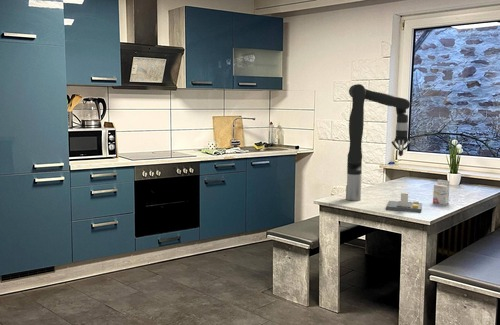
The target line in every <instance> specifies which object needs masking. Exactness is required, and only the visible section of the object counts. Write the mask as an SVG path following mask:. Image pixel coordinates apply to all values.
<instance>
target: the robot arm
mask: <svg viewBox="0 0 500 325" xmlns="http://www.w3.org/2000/svg"><path fill="white" fill-rule="evenodd" d="M348 94H349V96H350V97H351V98H352V99H351V100H352V101H351V102H352V107H351V110H350V114H349V118H348V119H349V120H348V134H349V148H348V152H347V164H346V167H347V168H346V170H347V171H346V172H347V174H346V185H345V200H346V201H354V202H355V201H356V202H357V201H361V199H362V197H361V196H362V171H363V170H362V166H363V165H362V163H363V162H362V161H363V150H362V142H363V141H362V140H363V136H364V126H365V124H364V118H365V115H364V114H365V110H364V108H365V100H366V101H367V100H368V101H371V102H375V103H376V104H377V103H378V104H380V105H384V106H387V107H393V108H395V111H396V124H395V138H394V140H393V141H391V144H392V146H393V147H394V149H396V150H398V151H397V152H398V153H397V154H398V156H399V157H402V156H403V155H404V151H405V150H407V149H408V148H409V146H410V145H411V144H412V142H411V141H410V140H409V137H408V135H409V134H408V133H409V115H408V114H407V110H408V109H409V108H410V107H411V102H410V100H409V99H407V98H404V97H399V96H394V95H392V94H387V93H384V92H379V91H374V90H369V89H367V88H365V86H364V85H363V84H361V83H359V84H358V83H357V84H353V85H351V86H350V87H349V89H348ZM406 144H407V145H406ZM405 145H406V146H405ZM404 146H405V147H404Z"/></svg>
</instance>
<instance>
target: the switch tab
mask: <svg viewBox="0 0 500 325" xmlns="http://www.w3.org/2000/svg"><path fill="white" fill-rule="evenodd" d="M400 201H401V204H400V206H402V207H407V206H408V202H409V192H406V191H405V192H404V191H401V192H400Z"/></svg>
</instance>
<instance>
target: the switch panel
mask: <svg viewBox="0 0 500 325" xmlns="http://www.w3.org/2000/svg"><path fill="white" fill-rule="evenodd" d="M400 204H401V200H388V202H387V204H386V206H385V210H386V211H399V212H410V213H411V212H413V213H422V208H423V203H422V202H419V200H413V201H408V206H407V207H402V206H400Z"/></svg>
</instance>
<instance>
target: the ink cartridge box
mask: <svg viewBox="0 0 500 325" xmlns="http://www.w3.org/2000/svg"><path fill="white" fill-rule="evenodd" d="M436 181H437V183H436V184H433V191H432V192H433V193H432V194H433V195H432V203H435V204H441V205H447V204H449V199H450V198H449V197H450V188H451V187H450V180H445V179H437V180H436Z"/></svg>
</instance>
